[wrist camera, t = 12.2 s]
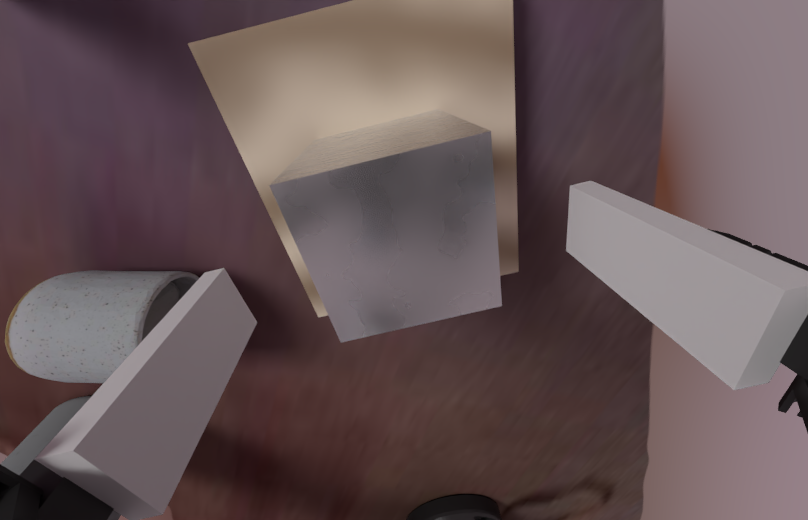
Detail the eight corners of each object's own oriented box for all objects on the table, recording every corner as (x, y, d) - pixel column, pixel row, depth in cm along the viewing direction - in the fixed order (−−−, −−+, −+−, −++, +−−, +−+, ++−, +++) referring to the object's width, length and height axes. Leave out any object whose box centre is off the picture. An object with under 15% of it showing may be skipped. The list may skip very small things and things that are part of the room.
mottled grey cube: (453, 223, 21) (501, 306, 13) (352, 247, 21) (340, 342, 13) (437, 109, 17) (490, 130, 9) (314, 139, 17) (269, 185, 10)
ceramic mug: (74, 250, 22) (-56, 327, 15) (197, 251, 22) (124, 324, 16) (134, 354, 27) (58, 444, 20) (231, 351, 28) (188, 436, 21)
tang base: (508, 258, 25) (560, 325, 18) (322, 301, 26) (303, 382, 19) (496, -28, 16) (591, -112, 9) (206, 47, 16) (88, 22, 10)
